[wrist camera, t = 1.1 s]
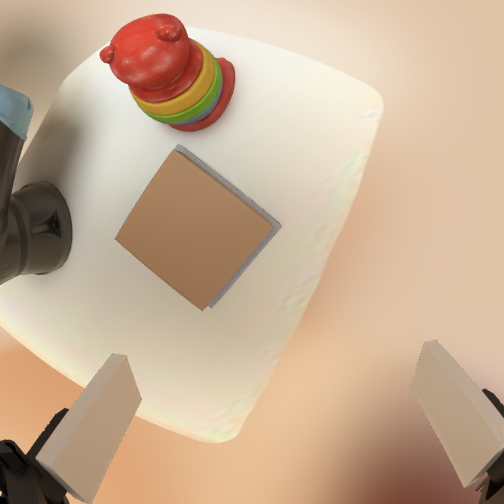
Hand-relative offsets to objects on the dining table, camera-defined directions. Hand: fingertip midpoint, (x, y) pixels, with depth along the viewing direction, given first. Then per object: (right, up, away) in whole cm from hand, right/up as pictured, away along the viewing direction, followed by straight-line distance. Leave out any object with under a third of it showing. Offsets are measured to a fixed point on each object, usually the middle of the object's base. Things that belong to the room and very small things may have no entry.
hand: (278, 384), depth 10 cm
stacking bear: (-9, +25, +20) cm, 33 cm away
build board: (-8, +9, +24) cm, 27 cm away
